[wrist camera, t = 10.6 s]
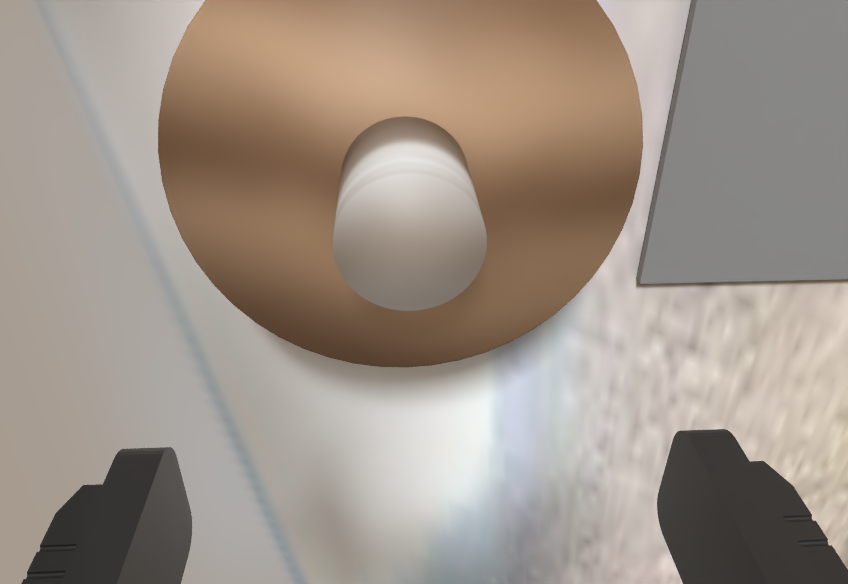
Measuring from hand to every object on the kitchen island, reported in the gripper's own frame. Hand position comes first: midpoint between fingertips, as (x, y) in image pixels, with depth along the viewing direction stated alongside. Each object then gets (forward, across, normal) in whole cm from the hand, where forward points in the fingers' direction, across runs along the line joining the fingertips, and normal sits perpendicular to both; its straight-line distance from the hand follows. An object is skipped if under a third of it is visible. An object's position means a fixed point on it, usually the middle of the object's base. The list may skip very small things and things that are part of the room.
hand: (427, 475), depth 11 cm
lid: (+13, 0, 0) cm, 13 cm away
